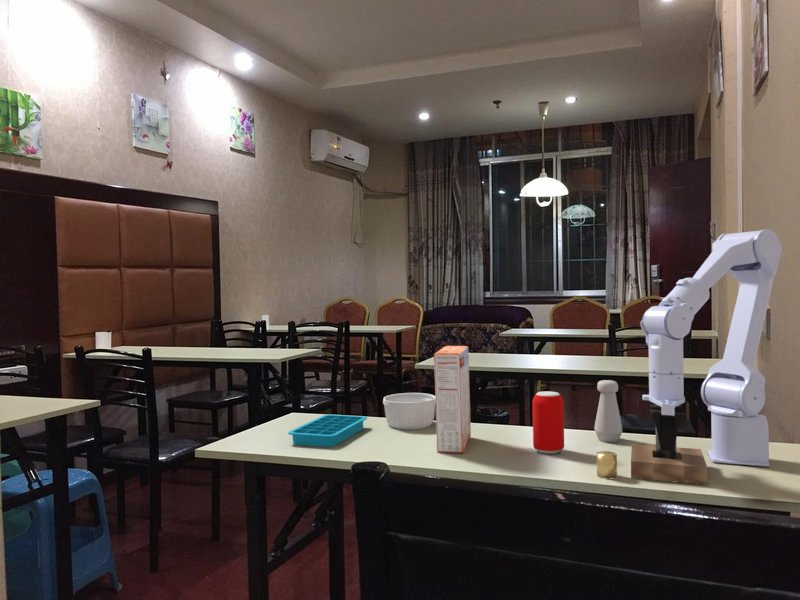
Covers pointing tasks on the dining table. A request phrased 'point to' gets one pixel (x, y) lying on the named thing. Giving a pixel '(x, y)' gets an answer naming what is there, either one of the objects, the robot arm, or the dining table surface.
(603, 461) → the short pin
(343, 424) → the ice cube tray
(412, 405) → the ramekin
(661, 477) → the hole block
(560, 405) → the beverage can
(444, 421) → the cracker box
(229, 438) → the dining table surface
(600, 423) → the salt shaker
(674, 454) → the long pin
